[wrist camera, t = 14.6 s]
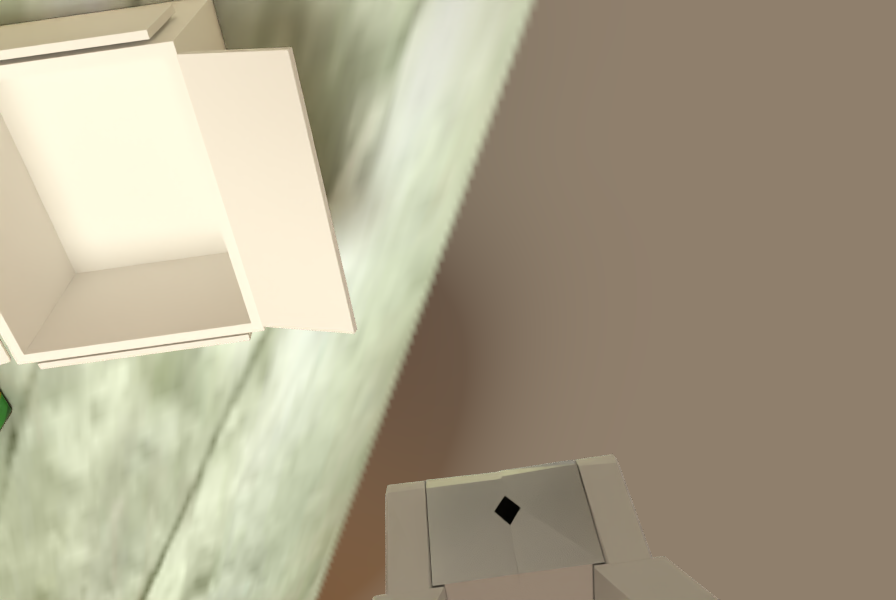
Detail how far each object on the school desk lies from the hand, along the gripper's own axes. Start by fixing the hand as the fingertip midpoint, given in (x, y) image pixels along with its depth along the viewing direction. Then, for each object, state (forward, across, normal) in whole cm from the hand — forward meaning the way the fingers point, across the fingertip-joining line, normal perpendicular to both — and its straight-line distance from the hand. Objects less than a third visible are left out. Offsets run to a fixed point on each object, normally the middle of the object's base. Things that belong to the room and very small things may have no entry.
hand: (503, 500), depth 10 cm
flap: (+28, +11, +8) cm, 31 cm away
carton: (+37, +18, +8) cm, 42 cm away
